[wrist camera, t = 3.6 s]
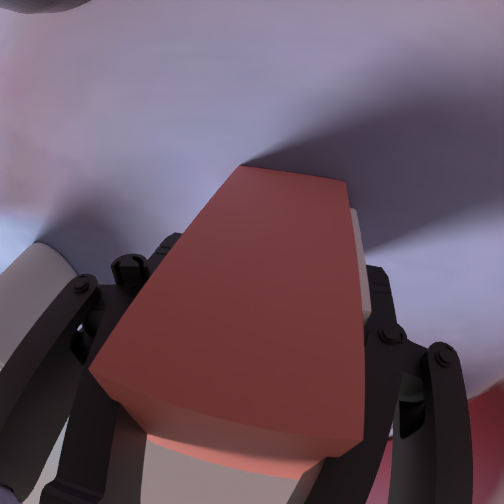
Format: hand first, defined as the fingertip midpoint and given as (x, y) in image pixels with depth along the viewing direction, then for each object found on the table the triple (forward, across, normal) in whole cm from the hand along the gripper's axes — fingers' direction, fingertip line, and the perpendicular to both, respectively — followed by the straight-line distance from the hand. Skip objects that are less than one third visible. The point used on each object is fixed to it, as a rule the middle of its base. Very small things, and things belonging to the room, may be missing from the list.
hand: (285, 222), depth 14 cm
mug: (+1, -22, -11) cm, 25 cm away
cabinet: (0, -2, -25) cm, 25 cm away
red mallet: (0, 0, -8) cm, 8 cm away
